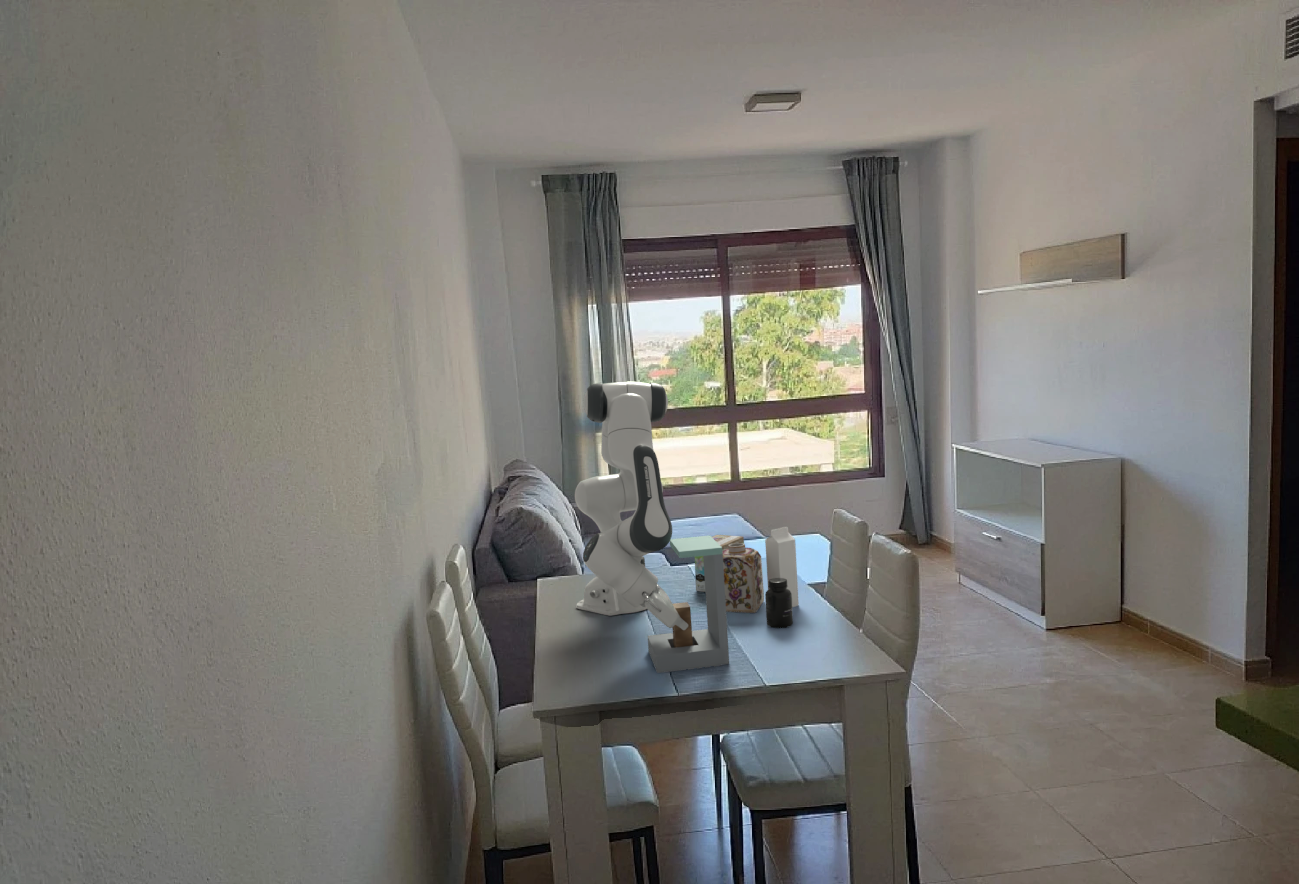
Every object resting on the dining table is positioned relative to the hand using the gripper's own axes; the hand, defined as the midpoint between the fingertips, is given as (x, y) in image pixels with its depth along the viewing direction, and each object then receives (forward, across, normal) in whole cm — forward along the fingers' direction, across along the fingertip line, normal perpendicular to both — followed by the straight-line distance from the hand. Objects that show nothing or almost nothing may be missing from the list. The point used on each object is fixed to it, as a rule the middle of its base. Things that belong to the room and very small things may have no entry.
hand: (684, 623), depth 209 cm
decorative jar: (+22, +36, -9) cm, 43 cm away
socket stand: (+6, 0, +6) cm, 8 cm away
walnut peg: (+4, 0, +5) cm, 6 cm away
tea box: (+21, +59, -9) cm, 63 cm away
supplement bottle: (+26, +17, -14) cm, 33 cm away
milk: (+30, +33, -18) cm, 48 cm away
